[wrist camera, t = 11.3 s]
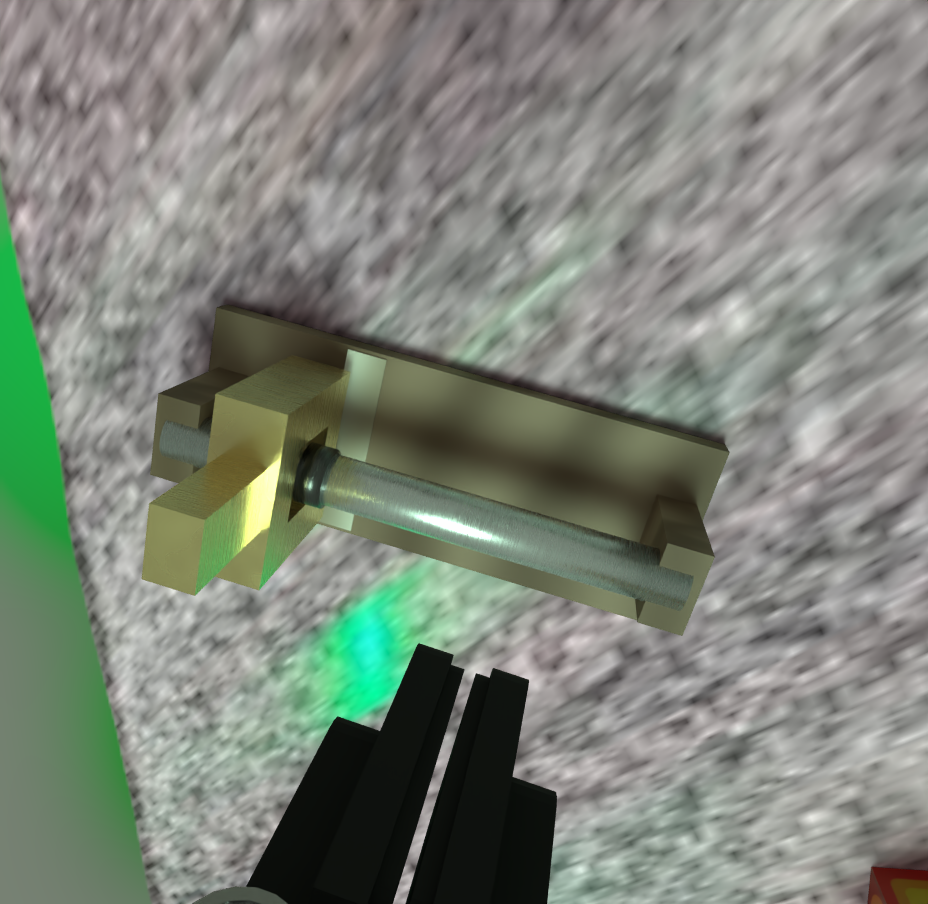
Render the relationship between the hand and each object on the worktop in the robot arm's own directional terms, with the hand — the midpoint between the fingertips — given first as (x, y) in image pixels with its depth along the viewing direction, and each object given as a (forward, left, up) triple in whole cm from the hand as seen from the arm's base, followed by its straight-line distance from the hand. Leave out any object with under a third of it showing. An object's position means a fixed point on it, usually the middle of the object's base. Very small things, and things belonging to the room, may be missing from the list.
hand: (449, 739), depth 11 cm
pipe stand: (+4, +7, -27) cm, 28 cm away
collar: (+11, +7, -25) cm, 28 cm away
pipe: (+4, +7, -23) cm, 24 cm away
